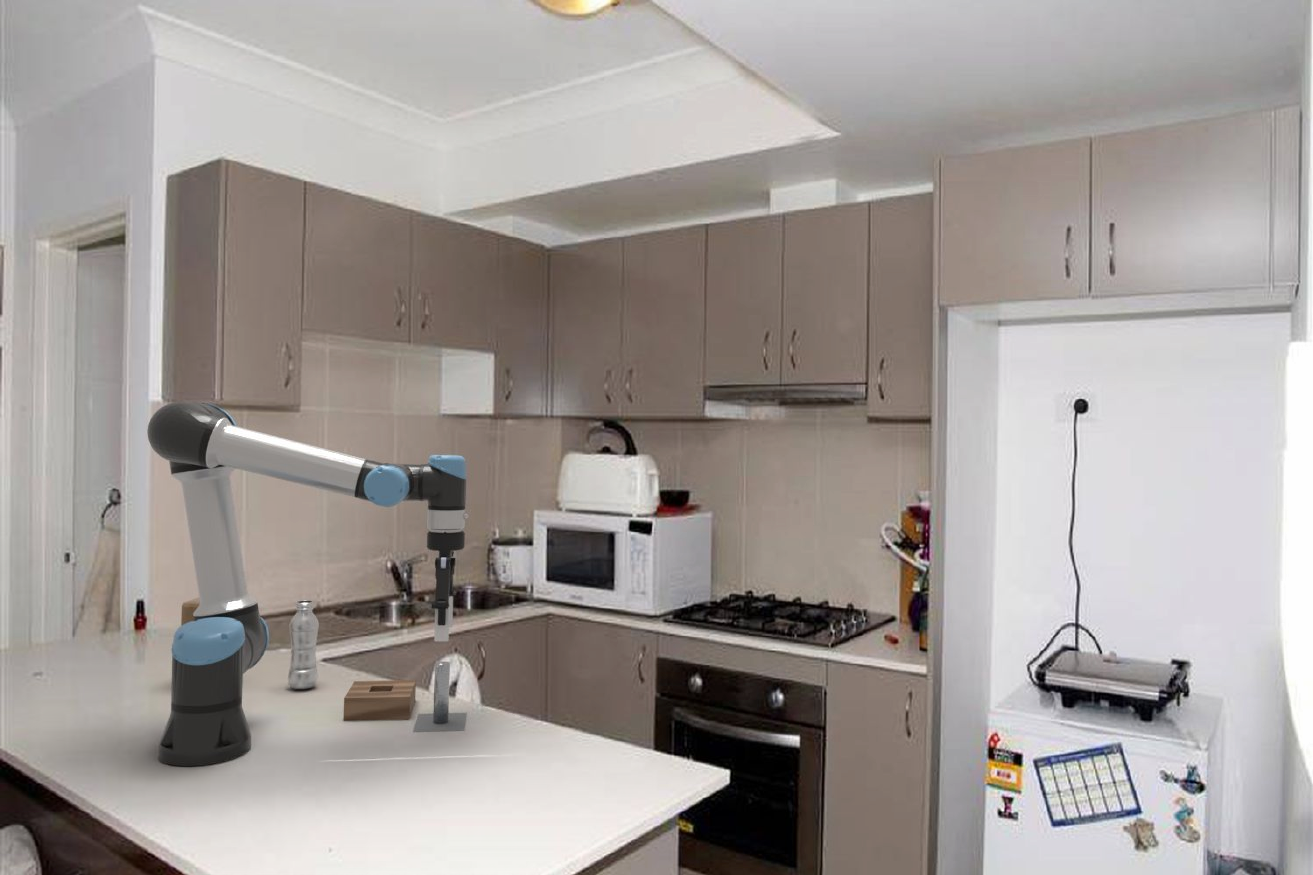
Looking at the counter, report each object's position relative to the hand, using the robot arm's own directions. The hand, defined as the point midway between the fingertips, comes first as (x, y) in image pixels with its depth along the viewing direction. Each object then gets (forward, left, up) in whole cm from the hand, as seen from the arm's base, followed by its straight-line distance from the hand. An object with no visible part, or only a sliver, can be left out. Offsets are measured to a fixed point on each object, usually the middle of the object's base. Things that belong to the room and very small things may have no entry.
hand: (443, 633), depth 183 cm
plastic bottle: (+29, +33, -19) cm, 48 cm away
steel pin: (0, 0, -18) cm, 18 cm away
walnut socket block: (+9, +13, -18) cm, 24 cm away
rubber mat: (0, 0, -18) cm, 18 cm away
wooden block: (+33, +54, -19) cm, 66 cm away
